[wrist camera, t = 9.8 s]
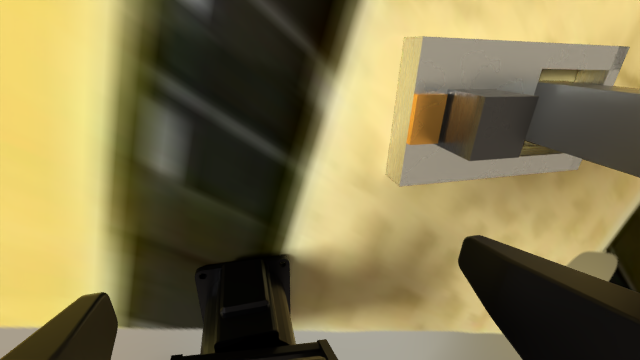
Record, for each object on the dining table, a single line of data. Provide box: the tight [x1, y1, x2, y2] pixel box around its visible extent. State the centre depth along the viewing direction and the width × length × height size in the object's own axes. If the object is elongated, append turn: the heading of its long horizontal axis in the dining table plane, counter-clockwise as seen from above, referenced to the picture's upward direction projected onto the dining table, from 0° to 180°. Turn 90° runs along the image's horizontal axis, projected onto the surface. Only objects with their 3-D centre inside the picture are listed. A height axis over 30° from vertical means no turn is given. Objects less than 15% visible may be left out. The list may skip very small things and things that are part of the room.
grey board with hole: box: [386, 37, 629, 186], centre depth 19 cm, size 9×16×5 cm, turn 88°
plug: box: [525, 81, 640, 177], centre depth 18 cm, size 4×4×9 cm
